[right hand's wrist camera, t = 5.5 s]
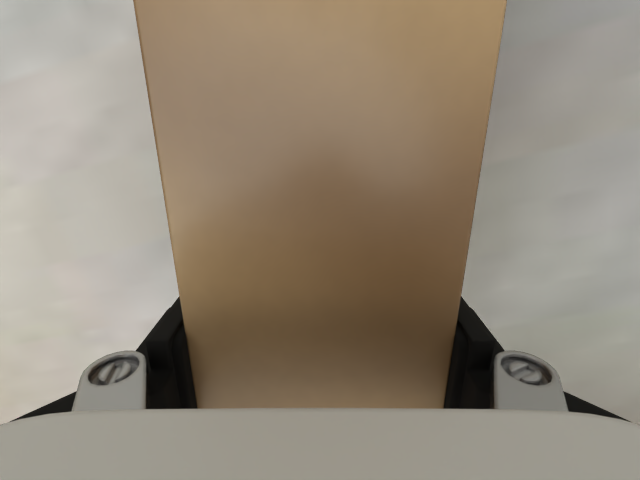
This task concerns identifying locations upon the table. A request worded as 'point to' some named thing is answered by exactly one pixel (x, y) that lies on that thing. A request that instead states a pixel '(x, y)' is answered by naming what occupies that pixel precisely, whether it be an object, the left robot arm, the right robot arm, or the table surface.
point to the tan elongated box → (320, 190)
